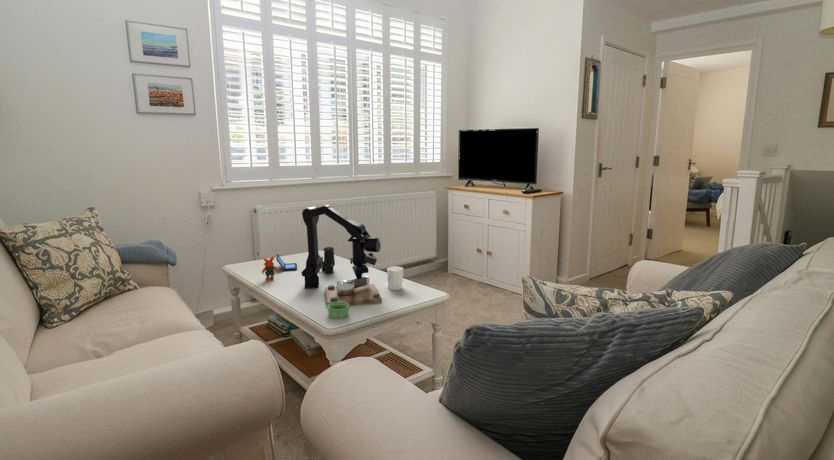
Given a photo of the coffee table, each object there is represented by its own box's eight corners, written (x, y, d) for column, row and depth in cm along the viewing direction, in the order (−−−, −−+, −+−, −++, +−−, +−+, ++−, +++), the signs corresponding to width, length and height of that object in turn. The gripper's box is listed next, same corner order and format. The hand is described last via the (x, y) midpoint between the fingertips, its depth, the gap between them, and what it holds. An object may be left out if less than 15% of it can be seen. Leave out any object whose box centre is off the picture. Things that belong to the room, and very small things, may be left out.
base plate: (327, 307, 197) (327, 300, 196) (324, 291, 217) (324, 285, 216) (381, 302, 203) (381, 295, 202) (374, 287, 223) (374, 281, 222)
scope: (331, 245, 251) (338, 248, 242) (332, 268, 253) (339, 273, 245) (317, 246, 246) (324, 250, 238) (318, 271, 249) (325, 275, 241)
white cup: (397, 291, 217) (397, 271, 215) (384, 288, 221) (383, 269, 219) (406, 287, 223) (406, 267, 221) (393, 284, 228) (393, 265, 226)
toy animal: (274, 276, 239) (273, 254, 237) (278, 279, 235) (277, 256, 233) (259, 279, 235) (258, 257, 232) (263, 281, 230) (261, 259, 228)
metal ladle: (343, 296, 202) (343, 284, 201) (333, 292, 208) (333, 280, 207) (373, 288, 214) (373, 276, 213) (363, 284, 220) (362, 273, 219)
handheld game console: (297, 270, 250) (296, 257, 249) (276, 272, 248) (276, 259, 246) (296, 264, 262) (296, 252, 261) (277, 266, 259) (276, 253, 258)
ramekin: (333, 321, 182) (333, 311, 181) (324, 314, 189) (323, 304, 188) (353, 316, 187) (353, 306, 187) (343, 309, 195) (343, 300, 194)
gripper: (379, 254, 206) (379, 286, 210) (371, 244, 224) (372, 274, 227) (354, 256, 203) (355, 289, 207) (349, 246, 221) (350, 276, 224)
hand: (359, 281), depth 216 cm, fingers closed
